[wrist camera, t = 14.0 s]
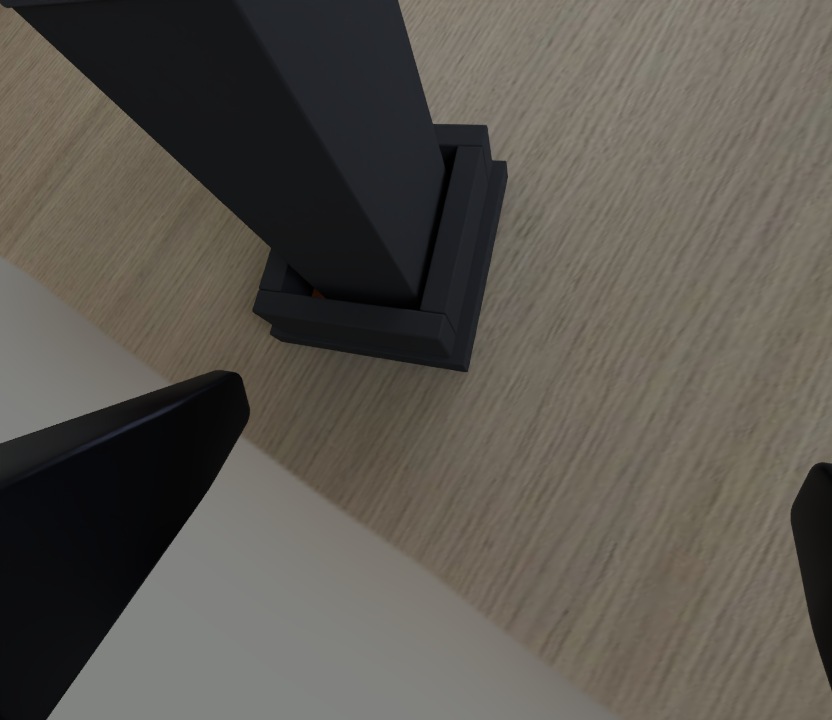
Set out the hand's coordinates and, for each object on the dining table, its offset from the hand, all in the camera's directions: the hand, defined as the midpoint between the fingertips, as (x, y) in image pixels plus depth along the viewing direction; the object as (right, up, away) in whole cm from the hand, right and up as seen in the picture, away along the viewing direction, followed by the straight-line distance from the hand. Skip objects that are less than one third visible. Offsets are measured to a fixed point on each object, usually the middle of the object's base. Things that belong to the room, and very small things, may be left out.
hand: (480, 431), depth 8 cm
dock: (-2, +5, +12) cm, 13 cm away
